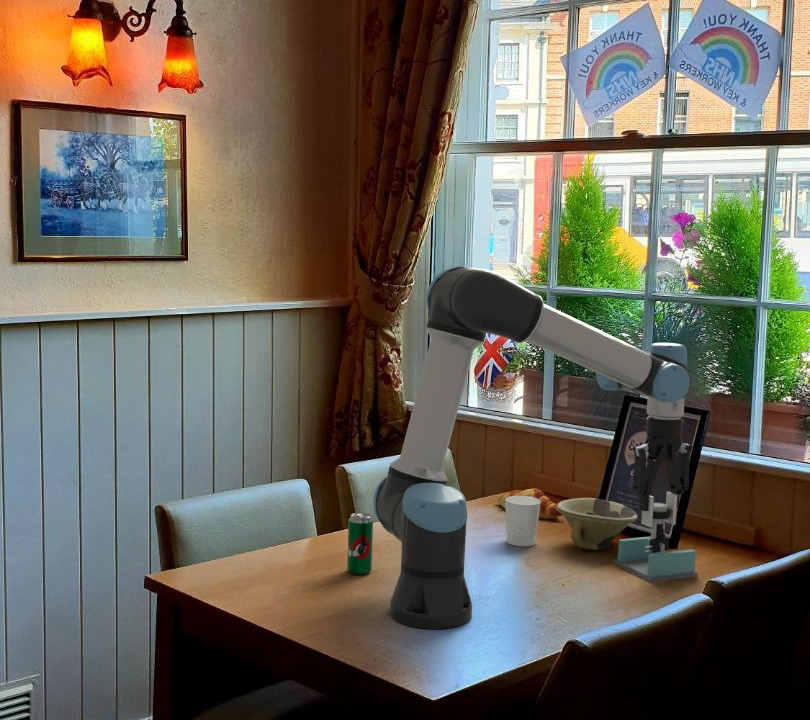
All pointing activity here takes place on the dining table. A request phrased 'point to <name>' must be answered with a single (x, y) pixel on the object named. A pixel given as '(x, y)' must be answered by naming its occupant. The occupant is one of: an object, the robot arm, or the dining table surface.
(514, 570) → the dining table surface
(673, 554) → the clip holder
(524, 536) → the white cup
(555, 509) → the croissant
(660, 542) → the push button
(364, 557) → the soda can
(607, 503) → the bowl
